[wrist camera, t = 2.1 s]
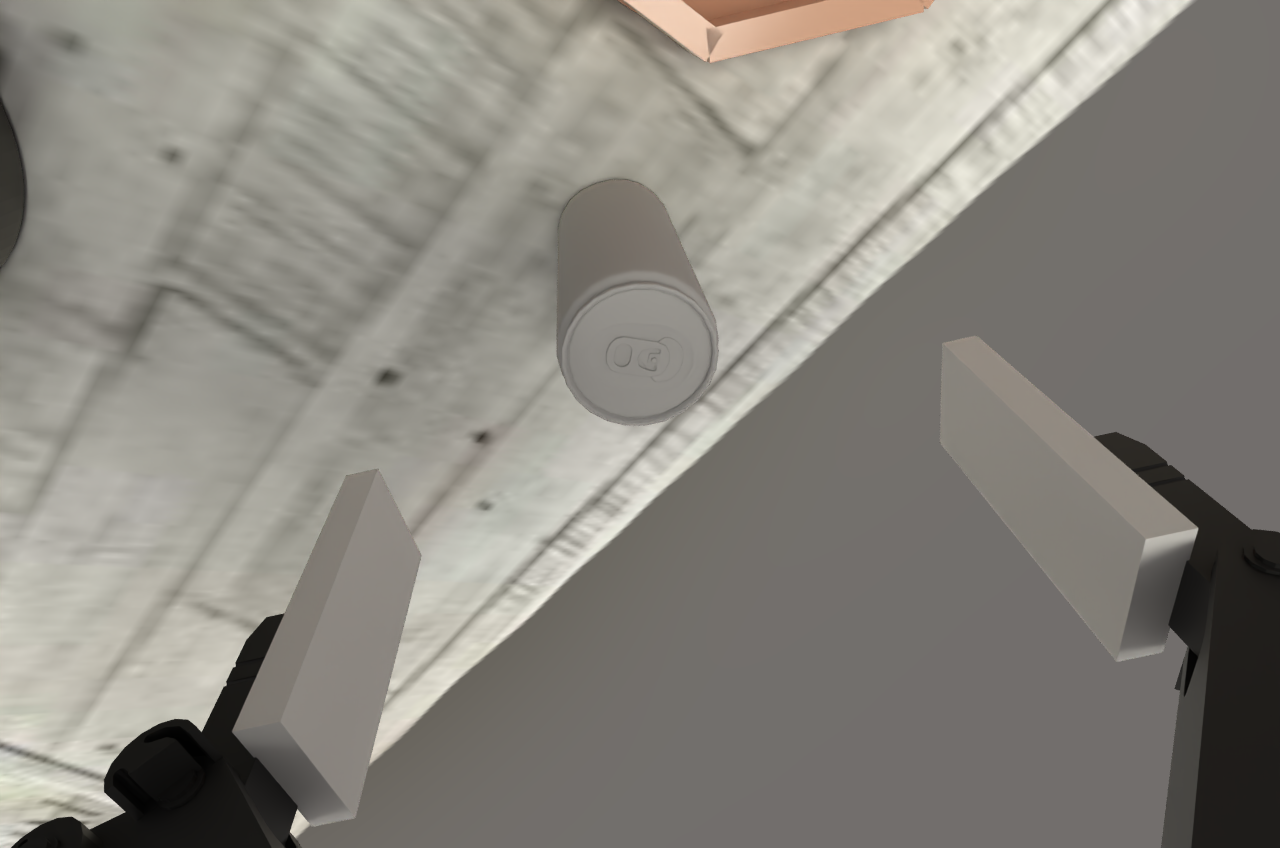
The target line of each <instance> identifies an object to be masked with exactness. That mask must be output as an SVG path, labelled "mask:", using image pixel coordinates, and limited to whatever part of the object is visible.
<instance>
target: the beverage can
mask: <svg viewBox="0 0 1280 848" xmlns="http://www.w3.org/2000/svg"><path fill="white" fill-rule="evenodd" d="M718 351H719V350H718V333H717V327H716V320H715V318H714V315H713V313H712V311H711V309H710V307H709V304H708V302H707V300H706V298H705V295H704V293H703V291H702V289H701V287H700V284H699V282H698V280H697V278H696V275H695V273H694V271H693V269H692V266H691V264H690V262H689V260H688V258H687V255H686V253H685V251H684V249H683V246H682V244H681V242H680V240H679V238H678V235H677V233H676V231H675V229H674V226H673V224H672V222H671V220H670V218H669V215H668V213H667V211H666V209H665V207H664V205H663V203H662V202H661V201H660V200H659V199H658V197H657V196H656V195H655V194H654V193H653V192H652V191H650V190H649V189H647V188H646V187H644V186H643V185H641V184H639V183H636V182H633V181H629V180H626V179H622V180H607V181H604V182H600V183H596V184H594V185H591V186H589V187H587V188H585V189H583V190H581V191H580V192H579V193H578V194H577V195H575V196H574V197H573V198H572V199H571V200H570V201H569V203H568V204H567V206H566V208H565V209H564V211H563V212H562V215H561V219H560V222H559V226H558V274H557V358H558V362H559V365H560V368H561V372H562V375H563V376H564V378H565V381H566V384H567V386H568V387H569V389H570V391H571V392H572V394H573V395H574V397H575V398H576V400H577V401H578V402H579V403H581V404H582V405H583V406H584V407H585V408H586V409H587V410H588V411H589V412H591V413H593V414H595V415H597V416H599V417H601V418H603V419H605V420H607V421H610V422H614V423H618V424H622V425H649V424H654V423H659V422H663V421H666V420H668V419H670V418H672V417H674V416H677V415H679V414H681V413H682V412H684V411H685V410H686V409H688V408H689V407H690V406H691V405H693V404H694V403H695V402H697V400H698V399H699V398H700V397H701V395H702V394H703V393H704V392H705V390H706V389H707V388H708V386H709V384H710V382H711V380H712V377H713V375H714V373H715V371H716V366H717V359H718Z"/></svg>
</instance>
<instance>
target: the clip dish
mask: <svg viewBox="0 0 1280 848" xmlns="http://www.w3.org/2000/svg"><path fill="white" fill-rule="evenodd" d="M617 1H619V2H620V3H622V4H623V5H625V6H626V7H628V8H629V9H631V10H633V11H634V12H636V13H638V14H639V15H640V16H642V17H643V18H644V19H646V20H647V21H648V22H650V23H651V24H652V25H654V26H655V27H656V28H658V29H659V30H660V31H662V32H663V33H664V34H666V35H667V36H668V37H669V38H671V39H672V40H673V41H675V42H676V43H677V44H679V45H680V46H681V47H683V48H684V49H685V50H687V51H688V52H690V53H691V54H693V55H695V56H696V57H698V58H700V59H701V60H703V61H705V62H706V61H708V62H709V63H712V62H716V61H721V60H725V59H729V58H733V57H737V56H742V55H746V54H750V53H754V52H758V51H762V50H767V49H771V48H775V47H779V46H783V45H788V44H792V43H796V42H800V41H804V40H808V39H813V38H817V37H821V36H825V35H829V34H834V33H838V32H842V31H846V30H850V29H855V28H859V27H863V26H867V25H871V24H875V23H880V22H884V21H888V20H892V19H896V18H901V17H905V16H909V15H913V14H917V13H921V12H924V9H928V8H929V7H930V5H931V4H932V3H933V1H934V0H617Z"/></svg>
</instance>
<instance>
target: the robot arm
mask: <svg viewBox="0 0 1280 848" xmlns="http://www.w3.org/2000/svg"><path fill="white" fill-rule="evenodd" d="M23 208H24V184H23V174H22V167H21V162H20V157H19V153H18V149H17V145H16V142H15V139H14V135H13V132H12V130H11V127H10V124H9V122H8V119H7V116H6V114H5V112H4V110H3V108H2V105H1V103H0V268H1V267H2V265H3V264H4V263H5V261H6V259H7V258H8V256H9V255H10V253H11V251H12V249H13V247H14V245H15V242H16V239H17V237H18V234H19V230H20V226H21V222H22V216H23ZM940 422H941V423H940V443H941V445H942V446H943V447H944V448H945V450H946V451H947V452H948V453H949V455H950V456H951V457H952V458H953V460H954V461H955V462H956V463H957V465H958V466H959V467H960V468H961V470H962V471H963V472H964V473H965V474H966V475H967V477H968V478H969V479H970V481H971V482H972V483H973V484H974V486H975V487H976V488H977V489H978V491H979V492H980V493H981V494H982V496H983V497H984V498H985V499H986V500H987V502H988V503H989V504H990V505H991V507H992V508H993V509H994V510H995V512H996V513H997V514H998V515H999V517H1000V518H1001V519H1002V520H1003V522H1004V523H1005V524H1006V525H1007V526H1008V528H1009V529H1010V530H1011V531H1012V533H1013V534H1014V535H1015V536H1016V537H1017V539H1018V540H1019V541H1020V543H1021V544H1022V545H1023V546H1024V547H1025V549H1026V550H1027V551H1028V553H1029V554H1030V555H1031V556H1032V557H1033V559H1034V560H1035V561H1036V562H1037V564H1038V565H1039V566H1040V567H1041V569H1042V570H1043V571H1044V572H1045V574H1046V575H1047V576H1048V577H1049V579H1050V580H1051V581H1052V582H1053V584H1054V585H1055V586H1056V587H1057V588H1058V590H1059V591H1060V592H1061V593H1062V594H1063V596H1064V597H1065V598H1066V600H1067V601H1068V602H1069V603H1070V605H1071V606H1072V607H1073V608H1074V610H1076V612H1077V613H1078V614H1079V616H1080V617H1081V618H1082V619H1083V621H1084V622H1085V623H1086V624H1087V626H1088V627H1089V628H1090V629H1091V631H1092V632H1093V633H1094V634H1095V636H1096V637H1097V638H1098V639H1099V640H1100V642H1101V643H1102V644H1103V645H1104V647H1105V648H1106V649H1107V650H1108V652H1109V653H1110V654H1111V655H1112V657H1113V658H1114V659H1115V660H1116V661H1117V662H1118V661H1123V660H1128V659H1133V658H1137V657H1143V656H1147V655H1152V654H1157V653H1162V652H1163V650H1164V647H1165V643H1166V640H1167V636H1168V633H1169V629H1170V628H1171V629H1172V630H1173V631H1174V632H1175V633H1176V634H1177V635H1178V636H1179V637H1180V638H1181V639H1182V640H1183V641H1184V643H1185V644H1186V645H1187V646H1188V648H1187V651H1186V654H1185V657H1184V660H1183V664H1182V667H1181V670H1180V673H1179V677H1178V680H1177V683H1176V686H1175V689H1176V690H1180V695H1179V705H1178V712H1177V720H1176V729H1175V737H1174V745H1173V753H1172V762H1171V770H1170V779H1169V787H1168V796H1167V804H1166V811H1165V820H1164V828H1163V837H1162V845H1161V848H1280V533H1279V532H1275V531H1265V530H1255V529H1253V530H1251V529H1250V528H1249V527H1248V526H1246V525H1245V524H1244V523H1243V522H1241V521H1240V520H1239V519H1238V518H1236V517H1235V516H1234V515H1233V514H1231V513H1230V512H1229V511H1227V510H1226V509H1225V508H1224V507H1223V506H1221V505H1220V504H1219V503H1218V502H1216V501H1215V500H1214V499H1213V498H1211V497H1210V496H1209V495H1208V494H1206V493H1205V492H1204V491H1203V490H1201V489H1200V488H1199V487H1198V486H1196V485H1195V484H1194V483H1193V482H1191V481H1190V480H1189V479H1188V480H1186V479H1185V478H1184V475H1183V474H1181V473H1180V472H1179V471H1178V470H1176V469H1175V468H1174V467H1173V466H1171V465H1169V466H1168V465H1167V462H1166V461H1165V460H1164V459H1163V458H1162V457H1160V456H1159V455H1158V454H1157V453H1155V452H1154V451H1153V450H1151V449H1150V448H1149V447H1148V446H1147V445H1145V444H1143V443H1140V442H1138V441H1135V440H1133V439H1131V438H1129V437H1126V436H1124V435H1122V434H1119V433H1117V432H1114V433H1109V434H1105V435H1100V436H1095V437H1093V436H1092V435H1091V434H1089V433H1088V432H1087V431H1086V430H1085V429H1084V428H1083V427H1081V426H1080V425H1079V424H1078V423H1077V422H1075V421H1074V420H1073V419H1072V418H1071V417H1070V416H1069V415H1068V414H1066V413H1065V412H1064V411H1063V410H1062V409H1061V408H1059V407H1058V406H1057V405H1056V404H1055V403H1054V402H1053V401H1051V400H1050V399H1049V398H1048V397H1047V396H1046V395H1044V394H1043V393H1042V392H1041V391H1040V390H1039V389H1038V388H1036V387H1035V386H1034V385H1033V384H1032V383H1030V382H1029V381H1028V380H1027V379H1026V378H1025V377H1024V376H1023V375H1021V374H1020V373H1019V372H1018V371H1017V370H1016V369H1014V368H1013V367H1012V366H1011V365H1010V364H1009V363H1008V362H1006V361H1005V360H1004V359H1003V358H1002V357H1001V356H999V355H998V354H997V353H996V352H995V351H994V350H993V349H991V348H990V347H989V346H988V345H987V344H985V343H984V342H983V341H982V340H981V339H980V338H979V337H978V336H972V337H968V338H963V339H959V340H954V341H950V342H945V343H943V345H942V381H941V420H940ZM421 556H422V555H421V553H420V551H419V549H418V547H417V545H416V543H415V541H414V539H413V537H412V535H411V533H410V531H409V529H408V527H407V525H406V523H405V521H404V519H403V517H402V515H401V513H400V511H399V509H398V507H397V505H396V503H395V501H394V499H393V497H392V495H391V493H390V491H389V489H388V487H387V485H386V483H385V481H384V479H383V477H382V475H381V473H380V471H379V469H374V470H370V471H365V472H361V473H356V474H352V475H347V476H346V477H345V479H344V482H343V484H342V486H341V488H340V490H339V493H338V495H337V497H336V499H335V502H334V504H333V506H332V508H331V511H330V513H329V515H328V517H327V520H326V522H325V524H324V526H323V529H322V531H321V533H320V535H319V538H318V540H317V542H316V544H315V547H314V549H313V551H312V553H311V555H310V558H309V560H308V562H307V564H306V567H305V569H304V571H303V573H302V576H301V578H300V580H299V582H298V585H297V587H296V589H295V591H294V594H293V596H292V598H291V600H290V603H289V605H288V607H287V609H286V612H285V613H284V614H280V615H275V616H270V617H266V619H265V620H264V621H263V622H262V623H261V624H260V625H259V626H258V628H257V629H256V630H255V631H254V632H253V633H252V634H251V635H250V637H249V638H248V639H247V640H246V642H245V644H244V646H243V648H242V650H241V653H240V655H239V657H238V659H237V661H236V667H234V668H233V669H232V671H231V673H230V675H229V677H228V679H227V681H226V682H227V686H225V687H223V690H222V692H221V694H220V696H219V698H218V700H217V702H216V704H215V706H214V708H213V710H212V712H211V714H210V716H209V718H208V720H207V722H206V725H205V727H204V729H203V731H202V733H201V731H200V730H199V729H198V728H197V727H196V726H195V725H194V724H193V723H191V722H190V721H189V720H183V719H174V720H170V721H167V722H164V723H160V724H158V725H156V726H154V727H152V728H151V729H149V730H147V731H145V732H144V733H142V734H140V735H139V736H138V737H137V738H136V739H134V740H133V741H132V742H131V743H130V744H128V745H127V746H126V747H125V748H124V749H123V750H122V752H121V753H120V754H119V755H118V756H117V758H116V759H115V760H114V761H113V763H112V764H111V766H110V768H109V770H108V772H107V774H106V777H105V779H104V792H105V793H106V794H107V795H108V796H109V797H110V798H111V799H112V800H113V801H115V802H116V803H117V804H118V805H119V806H120V807H121V808H122V809H123V810H124V811H125V813H123V814H121V815H119V816H117V817H115V818H113V819H111V820H109V821H107V822H104V823H102V824H100V825H98V826H96V827H94V828H92V829H90V830H89V829H88V828H87V827H86V826H85V825H83V824H82V823H81V822H80V821H78V820H76V819H75V818H73V817H63V818H56V819H54V820H51V821H49V822H47V823H44V824H42V825H40V826H38V827H37V828H35V829H34V830H32V831H31V832H29V833H28V834H26V835H25V836H24V837H22V838H21V839H20V840H19V841H18V842H16V843H15V844H14V845H13V846H12V847H11V848H301V846H300V844H299V843H298V841H297V840H296V838H295V837H294V836H293V835H292V834H291V833H290V829H291V826H292V823H293V820H294V817H295V814H296V811H297V809H298V810H299V811H300V813H301V814H302V815H303V816H304V817H305V819H306V820H307V821H308V822H309V823H310V824H311V826H312V827H314V826H319V825H323V824H328V823H333V822H338V821H343V820H348V819H352V818H355V817H356V812H357V809H358V805H359V801H360V797H361V793H362V789H363V785H364V781H365V777H366V773H367V769H368V765H369V761H370V758H371V754H372V750H373V746H374V742H375V738H376V734H377V730H378V726H379V722H380V718H381V714H382V710H383V706H384V702H385V698H386V694H387V690H388V686H389V682H390V678H391V674H392V671H393V667H394V663H395V659H396V655H397V651H398V647H399V643H400V639H401V635H402V631H403V627H404V623H405V619H406V615H407V611H408V607H409V603H410V599H411V595H412V591H413V587H414V584H415V580H416V576H417V572H418V568H419V564H420V560H421Z"/></svg>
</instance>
